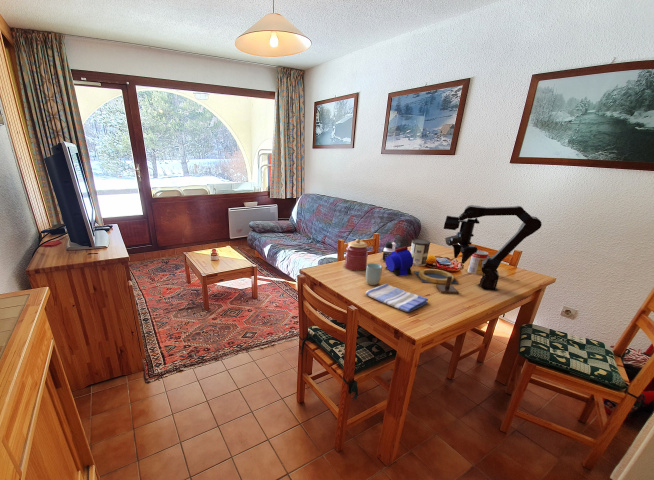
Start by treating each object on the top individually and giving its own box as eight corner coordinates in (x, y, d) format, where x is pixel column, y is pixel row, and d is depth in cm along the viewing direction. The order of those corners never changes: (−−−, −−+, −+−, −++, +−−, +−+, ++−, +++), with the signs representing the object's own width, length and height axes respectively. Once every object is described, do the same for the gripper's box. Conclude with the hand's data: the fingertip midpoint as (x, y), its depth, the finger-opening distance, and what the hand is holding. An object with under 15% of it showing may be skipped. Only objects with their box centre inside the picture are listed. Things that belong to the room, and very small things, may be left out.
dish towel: (385, 286, 159) (386, 281, 158) (429, 303, 142) (430, 298, 141) (363, 295, 150) (364, 290, 148) (407, 314, 132) (408, 308, 131)
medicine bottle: (381, 261, 196) (384, 243, 191) (382, 258, 202) (385, 240, 197) (393, 262, 193) (396, 244, 189) (394, 259, 200) (397, 241, 195)
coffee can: (421, 260, 198) (426, 239, 192) (428, 266, 188) (433, 243, 183) (405, 260, 198) (409, 239, 192) (411, 265, 188) (416, 243, 183)
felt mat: (446, 273, 177) (446, 272, 177) (458, 284, 162) (458, 283, 162) (414, 271, 179) (414, 271, 179) (422, 282, 164) (422, 282, 164)
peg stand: (451, 287, 158) (455, 273, 156) (458, 294, 151) (461, 280, 148) (435, 286, 159) (438, 273, 156) (441, 293, 152) (444, 279, 149)
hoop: (446, 272, 177) (446, 269, 176) (458, 284, 161) (459, 280, 161) (415, 271, 179) (415, 268, 178) (424, 282, 163) (424, 279, 163)
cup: (380, 287, 159) (383, 269, 155) (365, 286, 160) (367, 267, 156) (379, 281, 166) (381, 263, 162) (364, 280, 167) (366, 262, 163)
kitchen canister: (349, 262, 195) (352, 234, 188) (369, 266, 188) (373, 238, 181) (340, 268, 185) (343, 239, 178) (361, 272, 178) (364, 242, 171)
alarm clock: (412, 274, 175) (417, 249, 169) (393, 276, 173) (397, 250, 167) (399, 267, 186) (403, 243, 180) (381, 269, 183) (385, 244, 178)
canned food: (485, 272, 178) (491, 252, 173) (479, 275, 174) (484, 255, 169) (471, 268, 184) (476, 249, 179) (464, 271, 180) (469, 251, 175)
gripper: (442, 226, 164) (436, 254, 170) (456, 235, 147) (449, 266, 153) (464, 227, 163) (457, 255, 169) (481, 236, 146) (473, 267, 152)
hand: (459, 260), depth 161 cm, fingers open, 9 cm apart
